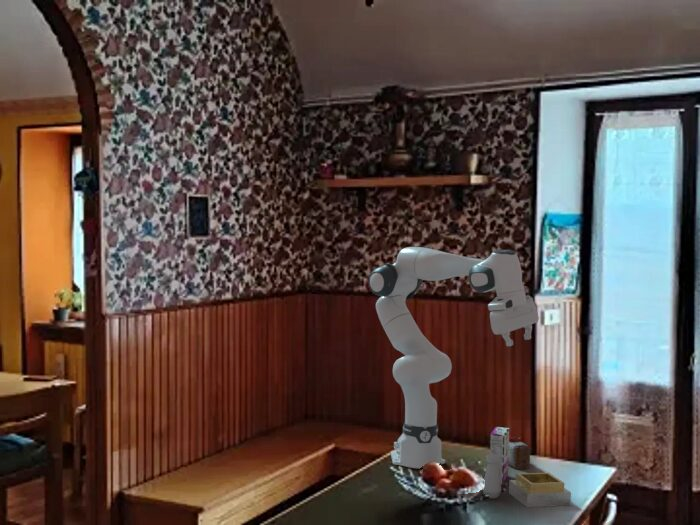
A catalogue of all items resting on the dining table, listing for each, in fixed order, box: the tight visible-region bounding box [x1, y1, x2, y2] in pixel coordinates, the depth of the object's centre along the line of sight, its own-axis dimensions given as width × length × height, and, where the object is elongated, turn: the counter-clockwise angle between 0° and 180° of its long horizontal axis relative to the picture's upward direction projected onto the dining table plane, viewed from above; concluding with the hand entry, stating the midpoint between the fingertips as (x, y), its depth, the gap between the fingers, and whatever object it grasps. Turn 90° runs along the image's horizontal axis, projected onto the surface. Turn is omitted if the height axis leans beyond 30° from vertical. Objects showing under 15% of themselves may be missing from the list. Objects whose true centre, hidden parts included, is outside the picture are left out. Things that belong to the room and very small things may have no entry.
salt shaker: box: [482, 453, 502, 500], centre depth 264 cm, size 6×6×13 cm
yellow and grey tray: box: [508, 472, 572, 508], centre depth 263 cm, size 14×14×6 cm
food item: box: [508, 436, 531, 470], centre depth 302 cm, size 14×8×10 cm, turn 19°
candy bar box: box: [489, 426, 510, 485], centre depth 282 cm, size 11×5×16 cm, turn 161°
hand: (519, 342), depth 272 cm, fingers open, 8 cm apart
